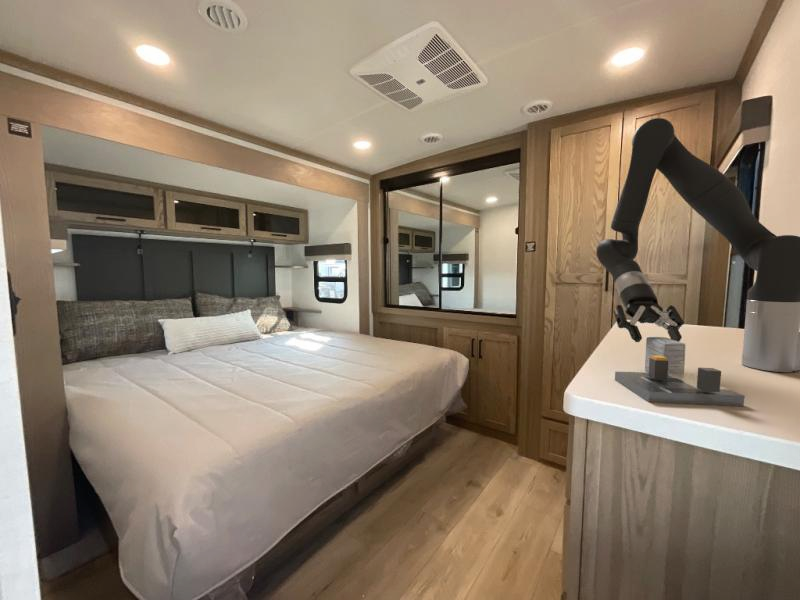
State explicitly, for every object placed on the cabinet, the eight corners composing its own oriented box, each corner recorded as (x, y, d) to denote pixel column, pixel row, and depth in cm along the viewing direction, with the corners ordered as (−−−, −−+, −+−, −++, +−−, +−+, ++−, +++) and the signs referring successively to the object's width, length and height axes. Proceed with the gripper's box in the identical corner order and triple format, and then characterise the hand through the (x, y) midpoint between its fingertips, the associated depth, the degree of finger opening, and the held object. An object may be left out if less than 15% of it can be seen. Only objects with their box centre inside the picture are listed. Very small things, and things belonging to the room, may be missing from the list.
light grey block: (684, 381, 75) (686, 343, 74) (662, 380, 76) (664, 343, 75) (664, 371, 83) (666, 337, 82) (644, 370, 83) (645, 336, 83)
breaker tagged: (661, 376, 71) (662, 355, 70) (667, 379, 69) (668, 358, 68) (648, 376, 71) (649, 355, 71) (654, 379, 69) (655, 357, 69)
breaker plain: (711, 388, 64) (712, 368, 63) (719, 392, 62) (721, 371, 61) (696, 387, 64) (698, 367, 64) (704, 391, 62) (706, 370, 62)
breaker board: (692, 382, 74) (693, 373, 74) (743, 406, 61) (744, 395, 61) (614, 379, 76) (615, 371, 76) (648, 402, 63) (649, 391, 63)
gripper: (612, 282, 89) (632, 331, 79) (670, 282, 87) (699, 333, 77) (602, 299, 95) (620, 348, 85) (656, 300, 93) (682, 350, 83)
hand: (658, 341), depth 81 cm, fingers open, 8 cm apart
